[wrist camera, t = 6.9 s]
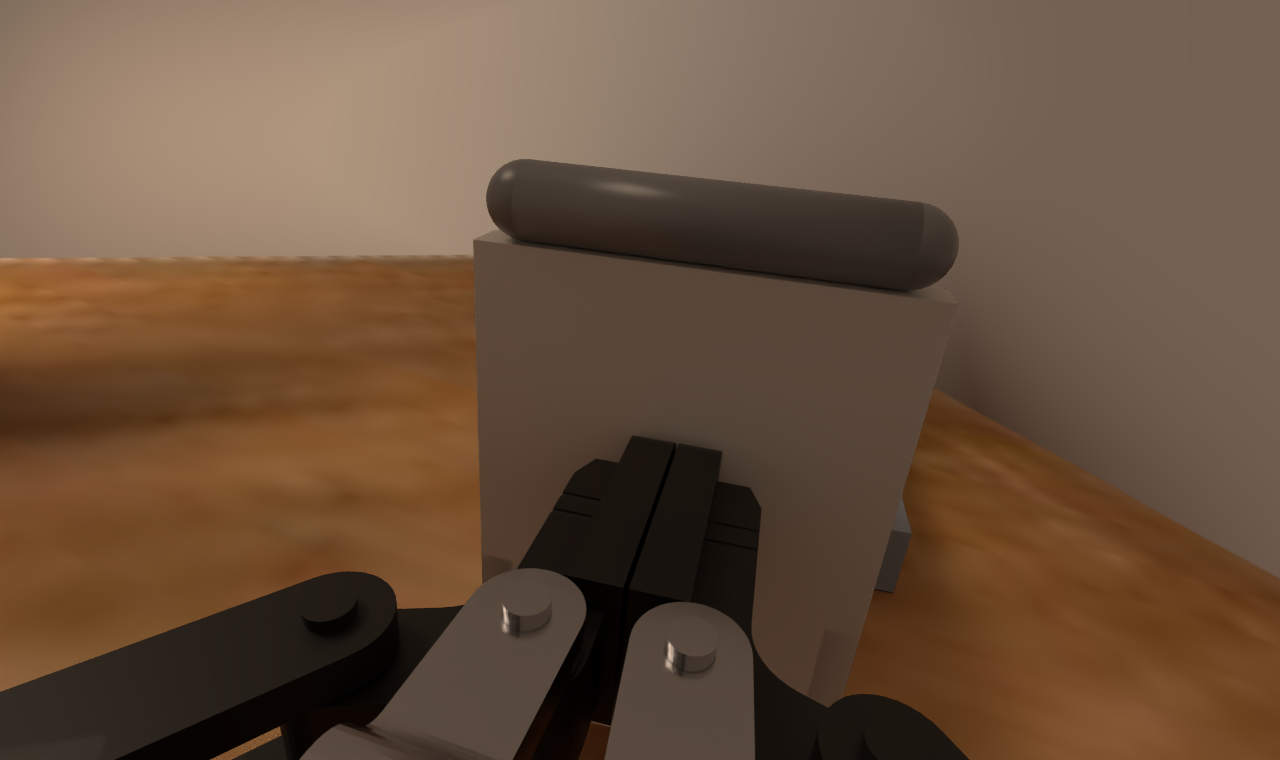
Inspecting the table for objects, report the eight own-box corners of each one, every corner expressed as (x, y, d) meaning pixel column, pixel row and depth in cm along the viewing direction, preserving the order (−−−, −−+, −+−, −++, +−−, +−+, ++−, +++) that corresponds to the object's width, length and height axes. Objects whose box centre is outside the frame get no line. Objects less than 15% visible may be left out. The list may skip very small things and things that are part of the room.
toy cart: (483, 753, 14) (464, 157, 9) (603, 499, 24) (629, 129, 18) (803, 841, 13) (989, 216, 8) (799, 538, 22) (885, 154, 17)
